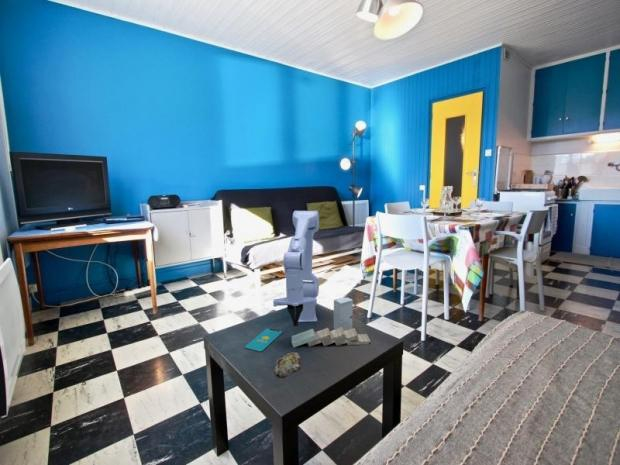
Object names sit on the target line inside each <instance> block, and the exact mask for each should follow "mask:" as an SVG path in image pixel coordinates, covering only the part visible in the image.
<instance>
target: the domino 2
mask: <svg viewBox="0 0 620 465" xmlns="http://www.w3.org/2000/svg"><path fill="white" fill-rule="evenodd" d="M330 331H331V330H330V329H329V327H326V328H323V329H320V330H317V331H314V332H315V338H316V340H313V341H311V342H308V343H307V345H308V347H312V346H315V345H317V344H321V343H322V342H323V341H326V340H329V339H331V335H330Z"/></svg>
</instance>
